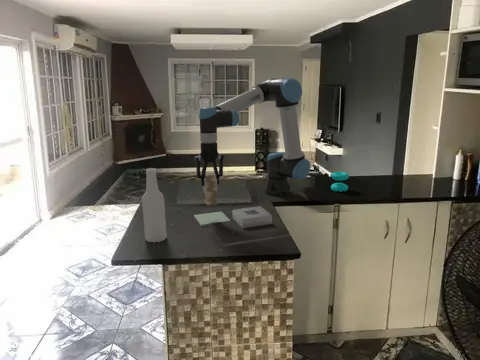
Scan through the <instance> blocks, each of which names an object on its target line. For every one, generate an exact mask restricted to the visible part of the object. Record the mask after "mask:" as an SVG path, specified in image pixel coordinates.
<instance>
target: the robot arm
mask: <svg viewBox="0 0 480 360" xmlns="http://www.w3.org/2000/svg"><path fill="white" fill-rule="evenodd" d="M302 95H303V87H302V85H301V83H300V81H298V80H297V79H296V78H290V77H281V78H280V77H279V78H278V77H277V78H275V77H274V78H269V79H267V80H264V81H261V82H260V83H258V84H255V85H253V86H252V87H251V89H250V90H247V91H244V92H242V93H240V94H238V95H236V96H234V97H232V98H230V99H228V100H225V101H223V102H221V103H219V104H217V105H215V106H201V107H200V109H199V114H198V120H199V133H200V134H199V136H200V153H199V155H197V156H196V155H195V156H194V157H193V158H194V160H195V166H196V167H195V168H196V170H195V171H196V177H197V178H198V179H200V184H201V186H202V187H203V188H202V189H203V193H204V194H205V193H207V189H206V179H205V174H207V173H206V172H207V168H208V164H209V163H211V164H212V168H213V173H214V174H215V175H216V193H218V186H219V185H220V178H221V177H223V175H224V159H225V155H224V154H222V153H221V154H219V152H218V129H219V128H229V127H230V128H231V127H236V126H238V124H239V122H240V114H239V113H240V112H241V111H243V110H245V109H247V108H250V107H252V106H254V105H256V104H262V103H264V102H275V107H276V108H277V109H278V110H279V116H280V125H281V131H282V140H283V145H284V146H283V148H284V151H281V152H271V153H269V154H268V155H267V160H266V167H267V168H266V169H267V170H266V171H267V173H266V174H267V179H266V182H265V186H264V193H265V194H267V195H269V194H273V195H272V196H281V195H280V194H286V195H288V194H287V193H289V194H291V191H292V190H291V185H290V182H289V179H293V180H294V181H295V180H299V181H302V180H304V179H306V177H308V176H309V174H310V171H311V161H310V160H309V159H306V157H305V156H306V155H305V152H304V151H302V146H301V145H302V144H301V138H300V130H299V122H298V121H299V120H298V113H297V106H298V105H299V104H300V103H299V101H300V100H301V98H302ZM217 158H218V167H217V161H216V160H217ZM201 159H202V167H201V162H200V161H201ZM288 178H289V179H288Z"/></svg>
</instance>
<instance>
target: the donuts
mask: <svg viewBox="0 0 480 360" xmlns="http://www.w3.org/2000/svg"><path fill="white" fill-rule="evenodd" d="M330 177H331V178H332V179H333V180H334V181H346V180H348V179H349V177H350V175H349V173H347V172H345V171H335V172H332V173H331V174H330ZM330 190H331V191H333V192H337V191H339V193H343V191H344V192H346V191H348V190H349V186H348V184H346V183H344V182H335V183H332V184H331V186H330Z"/></svg>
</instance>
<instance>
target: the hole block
mask: <svg viewBox="0 0 480 360" xmlns="http://www.w3.org/2000/svg"><path fill="white" fill-rule="evenodd" d="M231 212H232V213H231V214H232V219H233V220H234V221H235V222H236V223H237V224H238V225H239V226H240V227H241V228H242V229H246V228H251V227H258V226H267V225H272V224H273V215H272V214H271V213H270V212H269V211H267V210H266V209H265V208H263V207H262V206H260V205H259V206H251V207H243V208H236V209H232V211H231Z"/></svg>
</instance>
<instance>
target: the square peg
mask: <svg viewBox="0 0 480 360" xmlns="http://www.w3.org/2000/svg"><path fill="white" fill-rule="evenodd" d="M205 179H206V189H207V193H204V203H205V204H206V205H207V206H215V205H218V202H217V201H218V200H217V198H218V196H217V192H216V175H215V173H214V172H211V173H210V172H209V173H205Z"/></svg>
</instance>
